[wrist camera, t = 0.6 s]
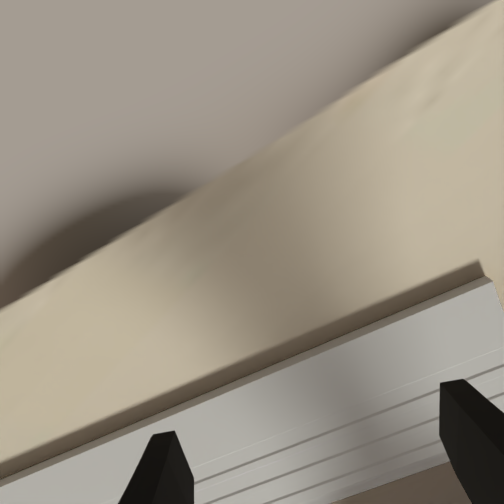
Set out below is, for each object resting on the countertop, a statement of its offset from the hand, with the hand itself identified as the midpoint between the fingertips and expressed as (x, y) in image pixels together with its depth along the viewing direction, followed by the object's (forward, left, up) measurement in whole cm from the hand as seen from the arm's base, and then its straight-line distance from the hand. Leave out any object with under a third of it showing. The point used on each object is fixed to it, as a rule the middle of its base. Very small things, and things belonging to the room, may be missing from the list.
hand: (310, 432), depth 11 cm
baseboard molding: (-12, +3, -11) cm, 16 cm away
